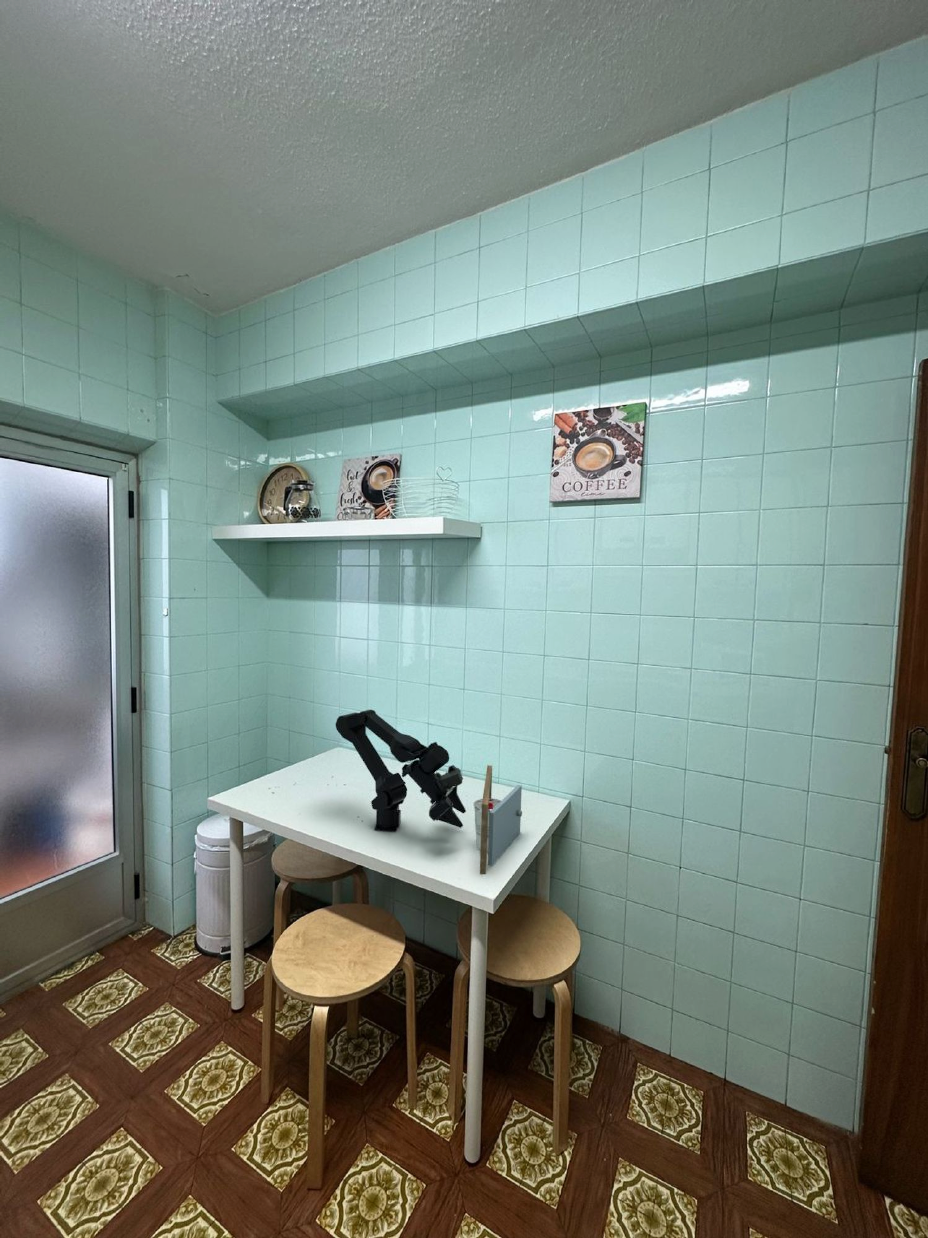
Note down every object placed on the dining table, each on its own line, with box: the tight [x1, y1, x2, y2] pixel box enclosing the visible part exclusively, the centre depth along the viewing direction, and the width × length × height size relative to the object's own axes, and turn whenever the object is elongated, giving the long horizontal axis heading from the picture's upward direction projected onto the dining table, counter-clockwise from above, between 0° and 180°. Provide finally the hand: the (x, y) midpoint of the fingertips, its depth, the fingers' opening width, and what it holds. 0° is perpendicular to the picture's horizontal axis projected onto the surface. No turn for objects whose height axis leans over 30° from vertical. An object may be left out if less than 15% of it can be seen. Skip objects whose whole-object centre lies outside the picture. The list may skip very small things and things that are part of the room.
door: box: [487, 784, 523, 867], centre depth 141 cm, size 2×21×14 cm, turn 154°
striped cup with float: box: [473, 797, 502, 853], centre depth 142 cm, size 10×8×12 cm
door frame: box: [479, 764, 493, 875], centre depth 142 cm, size 2×29×18 cm, turn 175°
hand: (463, 819), depth 144 cm, fingers open, 9 cm apart
